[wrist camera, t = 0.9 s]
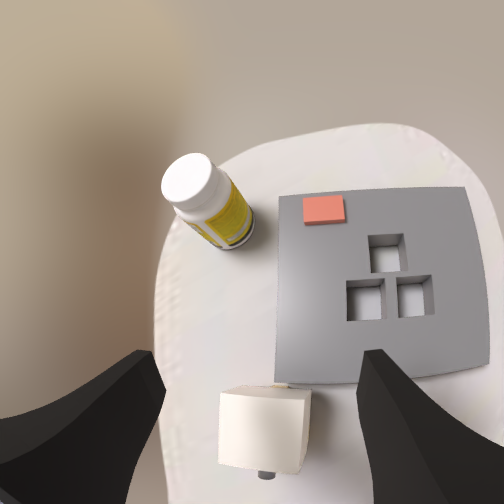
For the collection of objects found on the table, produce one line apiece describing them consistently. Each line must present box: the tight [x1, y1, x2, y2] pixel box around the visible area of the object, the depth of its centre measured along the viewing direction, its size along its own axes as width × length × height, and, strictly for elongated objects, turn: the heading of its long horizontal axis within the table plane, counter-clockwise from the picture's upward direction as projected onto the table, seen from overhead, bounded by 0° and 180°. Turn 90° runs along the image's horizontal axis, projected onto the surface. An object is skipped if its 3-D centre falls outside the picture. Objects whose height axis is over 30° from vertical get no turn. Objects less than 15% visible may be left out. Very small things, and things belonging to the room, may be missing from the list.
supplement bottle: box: [161, 153, 255, 249], centre depth 22 cm, size 5×5×8 cm
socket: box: [274, 187, 490, 384], centre depth 18 cm, size 14×16×3 cm
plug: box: [218, 385, 312, 480], centre depth 16 cm, size 7×5×6 cm
